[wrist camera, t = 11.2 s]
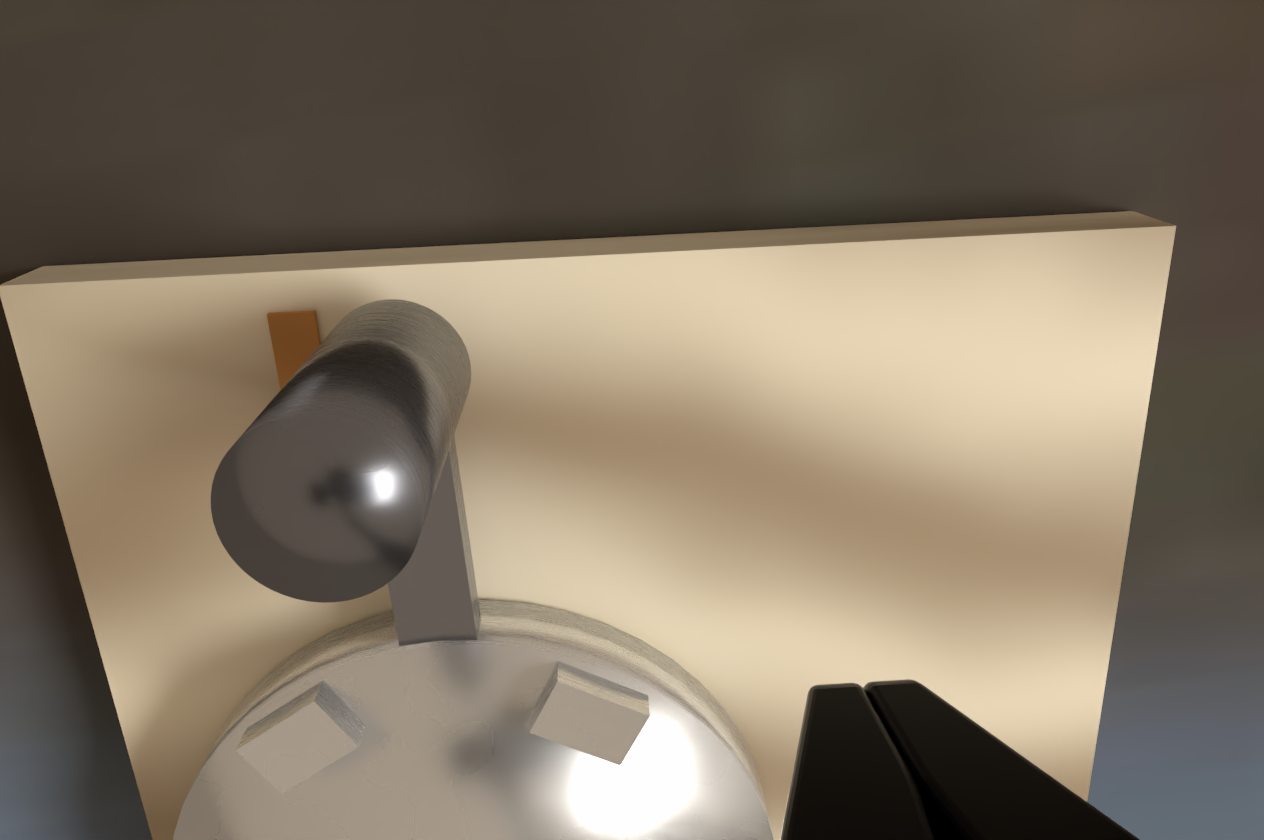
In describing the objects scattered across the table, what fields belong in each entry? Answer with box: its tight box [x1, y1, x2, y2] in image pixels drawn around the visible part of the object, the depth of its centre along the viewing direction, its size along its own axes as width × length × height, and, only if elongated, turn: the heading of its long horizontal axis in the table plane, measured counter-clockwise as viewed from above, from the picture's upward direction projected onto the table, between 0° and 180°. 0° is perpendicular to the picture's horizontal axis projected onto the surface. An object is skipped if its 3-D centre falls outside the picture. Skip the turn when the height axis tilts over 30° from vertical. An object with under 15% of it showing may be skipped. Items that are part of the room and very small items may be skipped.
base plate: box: [0, 211, 1176, 840], centre depth 22 cm, size 23×20×2 cm
